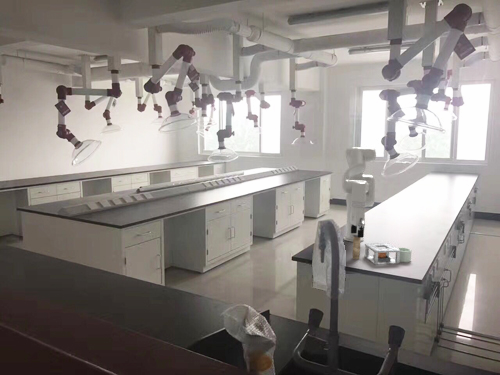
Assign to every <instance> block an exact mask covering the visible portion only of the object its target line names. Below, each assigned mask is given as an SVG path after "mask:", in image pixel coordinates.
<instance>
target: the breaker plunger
mask: <svg viewBox="0 0 500 375" xmlns="http://www.w3.org/2000/svg"><path fill="white" fill-rule="evenodd" d="M378 257H379V258H386V253H378Z"/></svg>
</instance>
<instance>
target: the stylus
mask: <svg viewBox="0 0 500 375" xmlns="http://www.w3.org/2000/svg"><path fill="white" fill-rule="evenodd" d="M360 254H361V242H360V238H358V235H353V242H352V259H353V260H360V259H361V255H360Z"/></svg>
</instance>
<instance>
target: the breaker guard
mask: <svg viewBox="0 0 500 375" xmlns="http://www.w3.org/2000/svg"><path fill="white" fill-rule="evenodd" d="M364 246H365V248H364V249H365V251H364V258H366V259H367V260H369V262H371V263H372V264H373V265H392V264H393V265H394V264H397V265H398V264H399V265H400V261H399V259H400V252H401V250H399V249H398V248H399V247H396V246H395V245H393V244H392V243H390V242H378V243H364ZM370 251H372V252H373V253H374V254H371V255H370ZM378 253H386V258H379V257H378ZM390 253H395V257H394V258H393V257H392V256H390Z"/></svg>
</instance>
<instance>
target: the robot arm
mask: <svg viewBox="0 0 500 375" xmlns="http://www.w3.org/2000/svg"><path fill="white" fill-rule="evenodd" d="M345 158H346V162H347V164H348V168H347V169H346V170H345V172H344V173H343V176H342V192H344V193H346V196H345V200H346V227H345V230H346V231H345V233H346V234H345V236H343V240H344V241H347V242H352V243H353V235H358V238H360V243H361V242H363V241H364V240H365V239H364V235H365V234H364V232H365V226H366V224H365V219H366V218H365V212H366V211H365V208H371V207H373V206H374V204H375V195H376V194H375V192H376V190H375V189H376V188H375V187H376V181H375V180H376V179H375V177H374V176H373V175H371V174H364V173H363V172H365V171H366V169H367V168H366V162H371V163H372V162H374V161H376V158H377V152H376V149H375V148H374V147H367V146H366V147H363V146H361V147H360V146H353V147H348V148H346V150H345Z"/></svg>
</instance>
